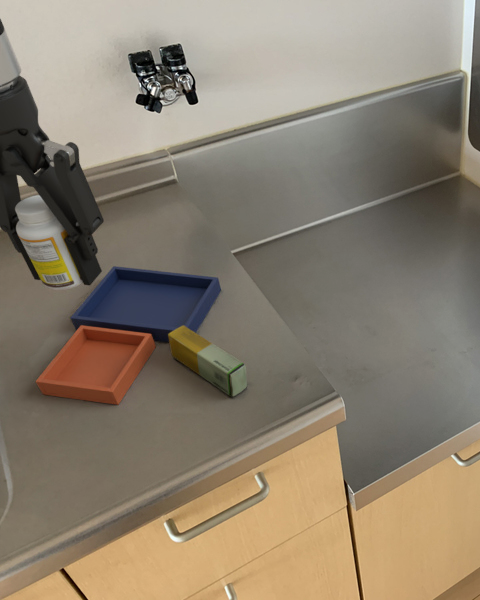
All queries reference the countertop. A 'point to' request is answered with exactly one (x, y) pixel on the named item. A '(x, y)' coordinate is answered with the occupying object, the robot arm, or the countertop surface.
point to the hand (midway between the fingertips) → (68, 275)
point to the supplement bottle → (46, 244)
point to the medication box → (208, 361)
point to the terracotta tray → (97, 365)
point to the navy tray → (148, 302)
